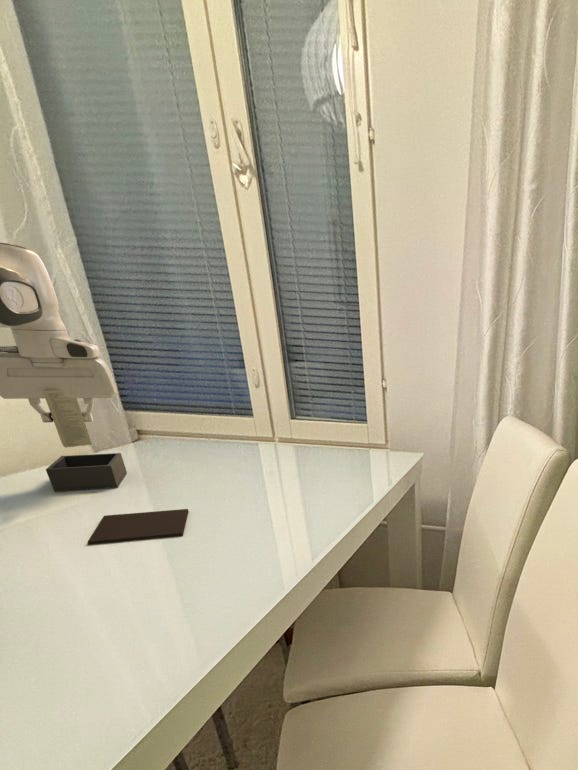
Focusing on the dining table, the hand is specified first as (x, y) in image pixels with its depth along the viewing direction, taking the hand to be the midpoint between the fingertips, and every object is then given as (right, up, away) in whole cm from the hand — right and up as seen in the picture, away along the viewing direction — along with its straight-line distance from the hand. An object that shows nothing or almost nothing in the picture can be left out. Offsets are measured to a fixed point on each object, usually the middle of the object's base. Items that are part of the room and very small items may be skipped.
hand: (69, 421), depth 114 cm
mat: (+26, -25, -17) cm, 40 cm away
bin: (0, -11, +7) cm, 13 cm away
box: (0, -4, +2) cm, 5 cm away
